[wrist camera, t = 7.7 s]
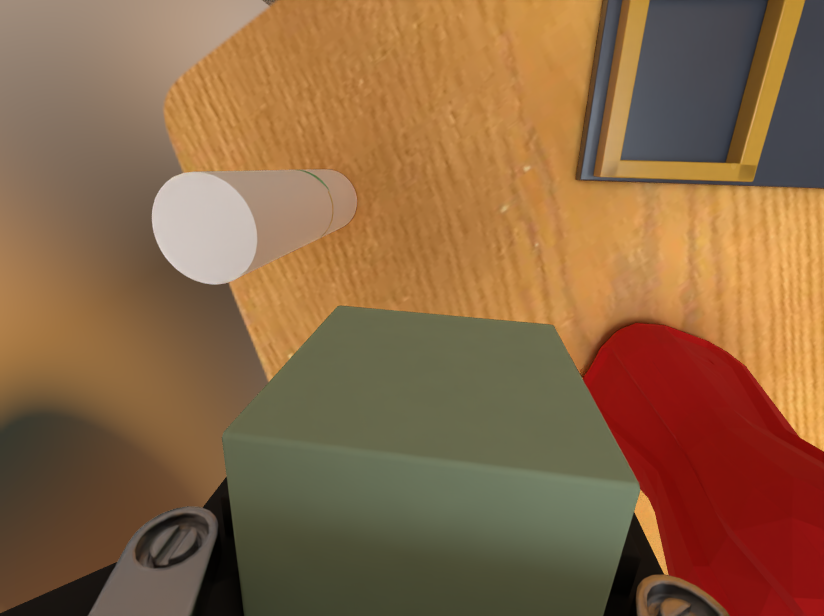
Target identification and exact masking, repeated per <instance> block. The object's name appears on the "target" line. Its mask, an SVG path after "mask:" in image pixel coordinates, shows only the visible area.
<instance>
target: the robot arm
mask: <svg viewBox="0 0 824 616" xmlns="http://www.w3.org/2000/svg"><path fill="white" fill-rule="evenodd" d="M0 616H244V610H243V602H242V594H241V586H240V578H239V570H238V562H237V554H236V546H235V538H234V530H233V522H232V514H231V506H230V498H229V490H228V482H227V477H226V478H225V479H224V481H223V482H222V483H221V485H220V486H219V487H218V489H217V490H216V491H215V492H214V494H213V495H212V496H211V497H210V499H209V500H208V501H207V503H206V504H205V505H204V507H203V508H201V507H189V506H187V507H182V508H176V509H173V510H170V511H167V512H165V513H162V514H160V515H158V516H157V517H155V518H153V519H152V520H150V521H148V522H147V523H146V524H145V525H144V526H142V527H141V528H140V529H139V530H138V531H137V532H136V533H135V534H134V536H133V537H132V539H131V540H130V541H129V542H128V544H127V546H126V548H125V549H124V551H123V553H122V555H121V557H120V559H119V560H118V562H116V563H114V564H111V565H109V566H107V567H104V568H103V569H100V570H98V571H95V572H93V573H91V574H89V575H86V576H84V577H82V578H79V579H77V580H75V581H73V582H71V583H68V584H66V585H64V586H61V587H59V588H57V589H54V590H52V591H50V592H48V593H45V594H43V595H41V596H39V597H36V598H34V599H32V600H30V601H28V602H25V603H23V604H20V605H18V606H16V607H14V608H11V609H9V610H7V611H5V612H2V613H0ZM603 616H730V615H729V614H728V612H727V611H726V610H725V609H724V608H723V607H722V606H721V605H720V604H719V603H718V602H717V601H716V600H715V599H714V598H713V597H712V596H710V595H709V594H707V593H706V592H704V591H703V590H701V589H700V588H699V587H697V586H696V585H693V584H691V583H689V582H687V581H685V580H683V579H681V578H677V577H673V576H669V575H664V573H663V571H662V569H661V567H660V565H659V563H658V561H657V559H656V557H655V555H654V552H653V550H652V548H651V546H650V544H649V542H648V540H647V538H646V536H645V534H644V532H643V530H642V527H641V525H640V523H639V521H638V519H637V517H636V515H635V513H633V516H632V520H631V523H630V527H629V530H628V533H627V537H626V540H625V543H624V547H623V550H622V554H621V557H620V560H619V564H618V567H617V570H616V574H615V577H614V580H613V584H612V587H611V591H610V594H609V597H608V601H607V604H606V607H605V611H604V614H603Z"/></svg>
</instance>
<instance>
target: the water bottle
mask: <svg viewBox="0 0 824 616" xmlns="http://www.w3.org/2000/svg"><path fill="white" fill-rule="evenodd" d="M583 381H584V383H585V384H586V386H587V388H588V390H589V392H590V394H591V396H592V397H593V399H594V401H595V403H596V405H597V407H598V408H599V410H600V412H601V414H602V416H603V418H604V420H605V421H606V423H607V425H608V427H609V429H610V431H611V432H612V434H613V436H614V438H615V440H616V442H617V444H618V445H619V447H620V449H621V451H622V453H623V455H624V456H625V458H626V460H627V462H628V464H629V466H630V468H631V469H632V471H633V473H634V475H635V477H636V479H637V481H638V482H639V485H640V489H641V490H642V491H643V493H644V494H645V495H646V496H647V497H648V498H649V500H650V502H651V505H652V507H653V509H654V511H655V515H656V519H657V524H658V529H659V533H660V538H661V542H662V547H663V551H664V556H665V560H666V565H667V569H668V574H669V576H673V577H677V578H681V579H683V580H685V581H687V582H689V583H691V584H693V585H696V586H697V587H699V588H700V589H701V590H703V591H704V592H706V593H707V594H709V595H710V596H712V597H713V598H714V599H715V600H716V601H717V602H718V603H719V604H720V605H721V606H722V607H723V608H724V609H725V610H726V611H727V612H728V614H729V615H730V616H824V452H823V451H822V450H820V449H818V448H817V447H815V446H813V445H811V444H810V443H808V442H806V441H805V440H803V439H801V438H800V437H799V436H798V435H797V433H796V432H795V431H794V429H793V428H792V427H791V425H790V424H789V423H788V421H787V420H786V419H785V417H784V416H783V415H782V414H781V412H780V411H779V410H778V408H777V407H776V406H775V404H774V403H773V402H772V400H771V399H770V398H769V396H768V395H767V394H766V392H765V391H764V390H763V388H762V387H761V386H760V385H759V383H758V382H757V381H756V379H755V378H754V377H753V375H752V374H751V373H750V371H749V370H748V369H747V367H746V366H745V365H743V364H742V363H741V362H739V361H738V360H737V359H736V358H734V357H733V356H732V355H730V354H729V353H728V352H726V351H725V350H723V349H721V348H719V347H717V346H716V345H714V344H712V343H710V342H709V341H706V340H703V339H701V338H698V337H695V336H693V335H690V334H687V333H685V332H682V331H679V330H676V329H674V328H671V327H668V326H665V325H656V324H643V323H635V324H632V325H630V326H627V327H625V328H622V329H620V330H617V331H616V332H615V333H614V334H613V335H612V336H611V337H610V338H609V339H608V340H607V341H606V342H605V343H604V344H603V345H602V346H601V348H600V350H599V352H598V354H597V356H596V358H595V360H594V362H593V363H592V365H591V367H590V368H589V370H588V371H587V373H586V374H585V375H584V378H583Z"/></svg>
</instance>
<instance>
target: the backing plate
mask: <svg viewBox="0 0 824 616" xmlns="http://www.w3.org/2000/svg"><path fill="white" fill-rule="evenodd" d="M576 180H590V181H619V182H649V183H679V184H708V185H738V186H768V187H798V188H824V0H603V4H602V10H601V17H600V23H599V30H598V36H597V43H596V50H595V56H594V63H593V69H592V76H591V82H590V89H589V95H588V102H587V108H586V115H585V121H584V128H583V135H582V141H581V148H580V154H579V161H578V167H577V174H576Z"/></svg>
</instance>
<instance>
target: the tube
mask: <svg viewBox="0 0 824 616" xmlns="http://www.w3.org/2000/svg"><path fill="white" fill-rule="evenodd" d="M356 208H357V196H356V192H355V189H354V187H353V185H352V183H351V182H350V181H349V180H348V178H346V177H345V176H344V175H343V174H341V173H339V172H337V171H334V170H330V169H309V170H258V171H207V172H188V173H182V174H180V175H177V176H175V177H173V178H172V179H170V180H169V181H167V182H166V183H165V184H164V185H163V187H162V188H161V189H160V190H159V192H158V194H157V196H156V198H155V201H154V205H153V208H152V225H153V232H154V235H155V238H156V241H157V243H158V245H159V247H160V249H161V251H162V253H163V254H164V256H165V257H166V258H167V260H168V261H169V262H170V263H171V264H172V265H173V266H174V267H175V268H176V269H177V270H178V271H180V272H181V273H182V274H184V275H185V276H187V277H189V278H191V279H193V280H195V281H199V282H202V283H206V284H223V283H227V282H230V281H233V280H235V279H237V278H239V277H241V276H243V275H245V274H247V273H249V272H252V271H254V270H256V269H258V268H260V267H262V266H264V265H266V264H268V263H270V262H272V261H274V260H276V259H278V258H280V257H282V256H284V255H287V254H289V253H291V252H293V251H295V250H297V249H299V248H301V247H303V246H305V245H307V244H309V243H311V242H313V241H315V240H317V239H319V238H322V237H324V236H326V235H328V234H330V233H332V232H334V231H336V230H338V229H340V228H342V227H344V226H345V225H347V224H348V223H349V222H350V221H351V219H352V218H353V216H354V214H355V212H356Z"/></svg>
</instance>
